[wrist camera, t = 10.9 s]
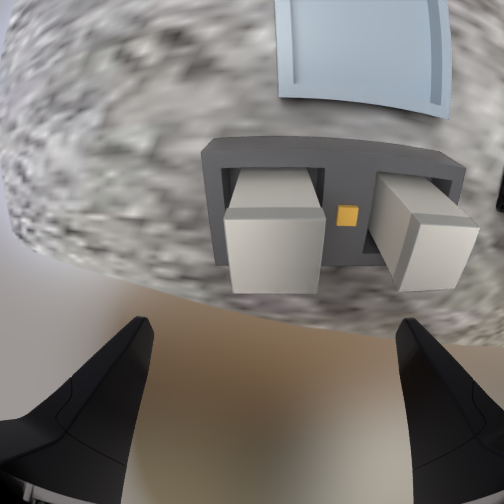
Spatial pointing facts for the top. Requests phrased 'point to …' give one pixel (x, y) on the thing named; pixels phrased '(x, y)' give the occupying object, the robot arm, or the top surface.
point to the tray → (366, 52)
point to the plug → (274, 232)
